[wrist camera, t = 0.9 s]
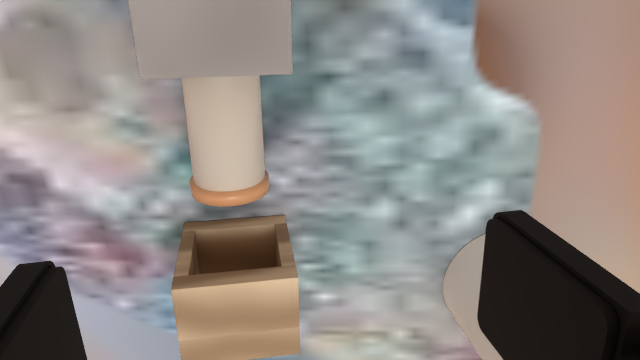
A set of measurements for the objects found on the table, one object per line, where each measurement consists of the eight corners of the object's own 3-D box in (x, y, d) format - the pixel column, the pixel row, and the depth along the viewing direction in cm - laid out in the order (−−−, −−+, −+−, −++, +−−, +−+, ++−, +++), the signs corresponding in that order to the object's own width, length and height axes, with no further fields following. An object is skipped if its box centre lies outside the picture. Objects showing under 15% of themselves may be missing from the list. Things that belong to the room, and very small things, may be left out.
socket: (184, 222, 34) (171, 290, 26) (284, 214, 35) (298, 277, 27) (192, 288, 36) (182, 367, 28) (286, 279, 37) (299, 353, 30)
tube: (163, -90, 25) (149, -104, 21) (253, -89, 26) (257, -102, 21) (194, 177, 31) (188, 209, 27) (266, 173, 31) (271, 202, 27)
